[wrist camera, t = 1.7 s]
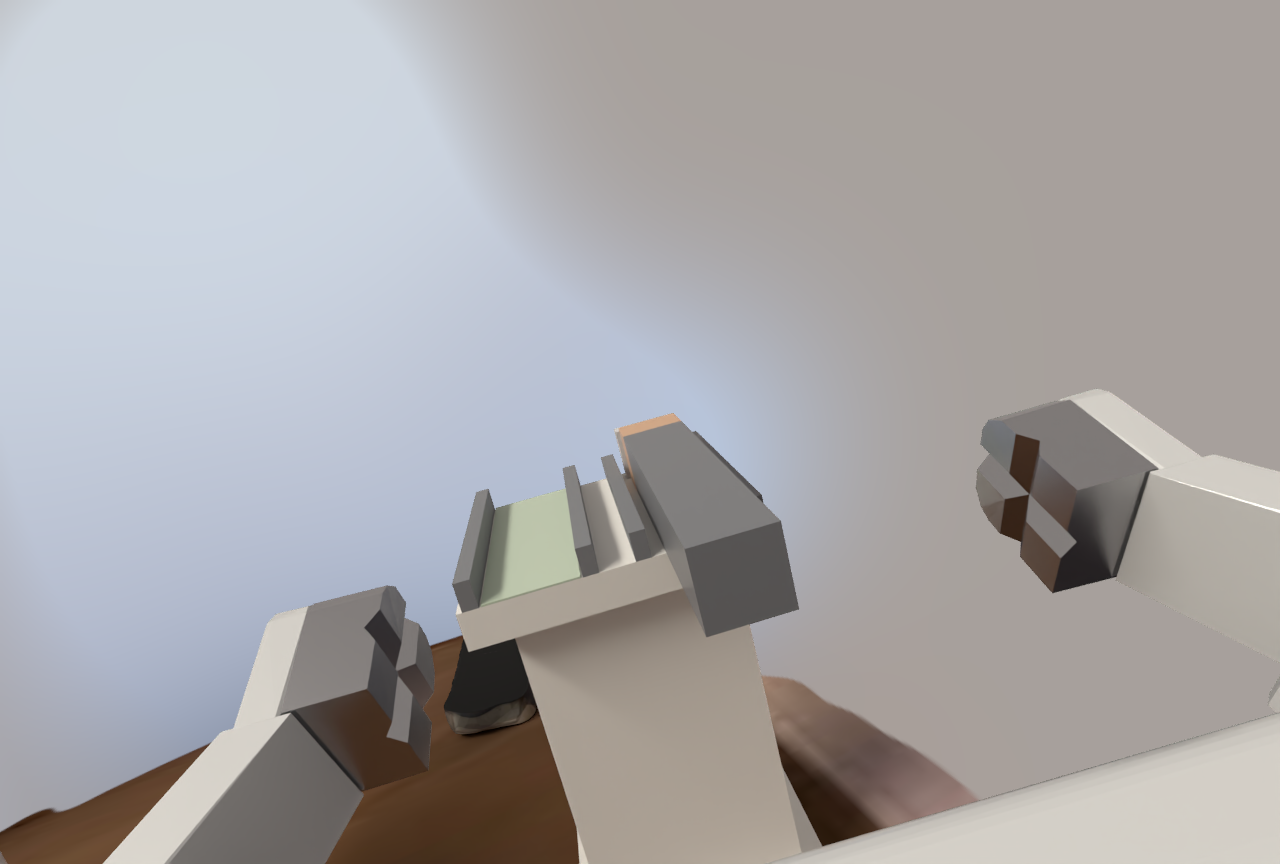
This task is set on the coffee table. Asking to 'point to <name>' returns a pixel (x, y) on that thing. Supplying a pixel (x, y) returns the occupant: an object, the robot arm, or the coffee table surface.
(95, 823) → the coffee table surface
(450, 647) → the coffee table surface
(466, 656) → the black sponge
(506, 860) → the coffee table surface
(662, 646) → the tester stand
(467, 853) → the coffee table surface
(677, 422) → the long grey square bar
